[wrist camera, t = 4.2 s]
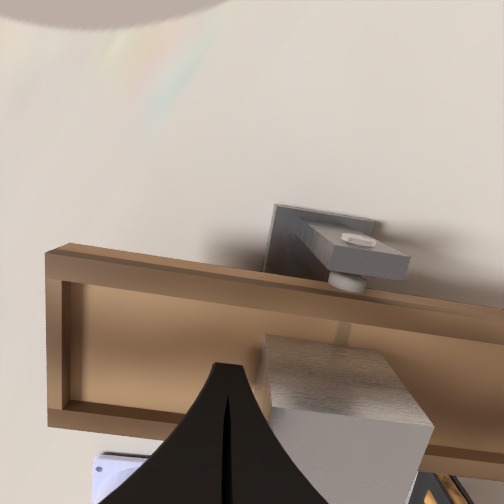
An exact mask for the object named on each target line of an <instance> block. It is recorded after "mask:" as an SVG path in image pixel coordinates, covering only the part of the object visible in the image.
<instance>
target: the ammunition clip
mask: <svg viewBox="0 0 504 504" xmlns="http://www.w3.org/2000/svg"><path fill="white" fill-rule="evenodd" d="M408 504H474V503H473V501H472V500H471V498H470V497H469V495H468V494H467V492H466V491H465V489H464V488H463V486H462V485H461V483H460V482H459V480H458V479H457V477H456V476H454V475H446V474H437V473H429V472H421V471H419V472H418V475H417V478H416V481H415V484H414V488H413V491H412V494H411V497H410V500H409V503H408Z"/></svg>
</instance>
